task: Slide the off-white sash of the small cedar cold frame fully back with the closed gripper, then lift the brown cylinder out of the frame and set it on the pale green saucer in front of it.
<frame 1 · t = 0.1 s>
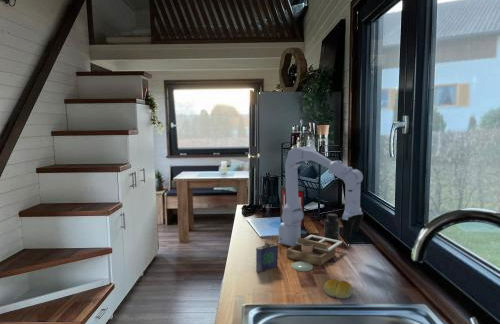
hand: (351, 233, 144), 10 cm above the kitchen counter, fingers open, 7 cm apart
sash: (319, 240, 151), point 5 cm above the kitchen counter, slide at 7.0 cm
brown cylinder: (306, 257, 145), resting on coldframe
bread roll: (338, 293, 117), on the kitchen counter
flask: (266, 269, 135), on the kitchen counter
saucer: (302, 267, 136), on the kitchen counter
supplement bottle: (331, 240, 167), on the kitchen counter
cleaning product box: (291, 225, 191), on the kitchen counter
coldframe: (311, 257, 146), on the kitchen counter
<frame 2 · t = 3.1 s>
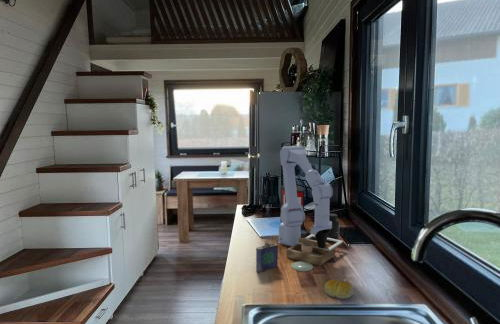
hand: (321, 247, 143), 5 cm above the kitchen counter, fingers closed
sash: (319, 239, 152), point 5 cm above the kitchen counter, slide at 7.7 cm, touching gripper
everything else where it was.
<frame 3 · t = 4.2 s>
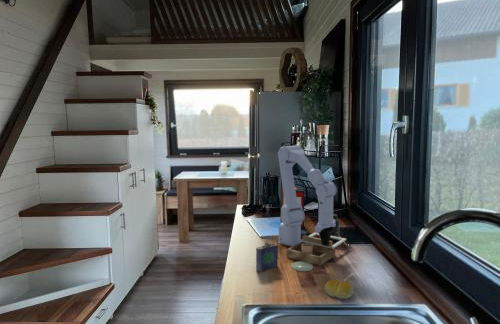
hand: (325, 245, 146), 5 cm above the kitchen counter, fingers closed
sash: (323, 237, 155), point 5 cm above the kitchen counter, slide at 11.1 cm, touching gripper
everything else where it was.
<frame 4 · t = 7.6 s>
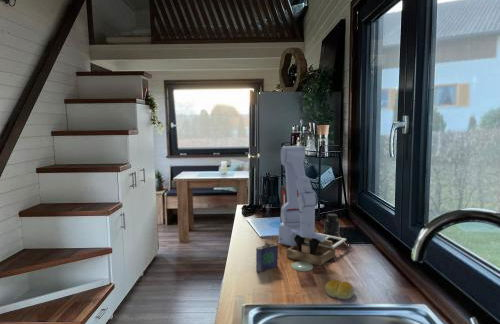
hand: (306, 255, 145), 1 cm above the kitchen counter, fingers closed on brown cylinder, 4 cm apart
sash: (323, 237, 155), point 5 cm above the kitchen counter, slide at 11.1 cm
brown cylinder: (306, 257, 145), resting on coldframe, touching gripper
everything else where it was.
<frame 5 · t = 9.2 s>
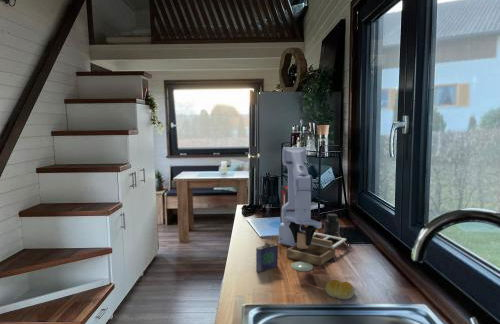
hand: (302, 243, 135), 9 cm above the kitchen counter, fingers closed on brown cylinder, 4 cm apart
brown cylinder: (302, 246, 135), point 8 cm above the kitchen counter, touching gripper
everything else where it was.
when the fingers open (3 cm above the kitchen counter, at t = 11.2 s): brown cylinder drops 1 cm, resting on saucer.
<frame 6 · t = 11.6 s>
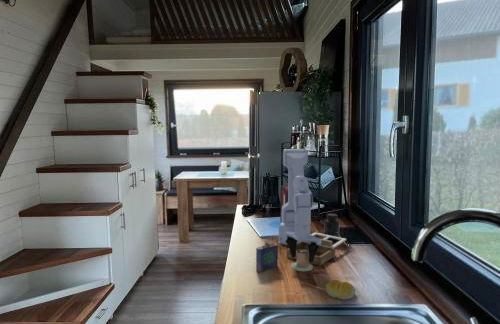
hand: (302, 259, 136), 3 cm above the kitchen counter, fingers open, 7 cm apart
brown cylinder: (302, 265, 136), point 1 cm above the kitchen counter, touching saucer
everything else where it was.
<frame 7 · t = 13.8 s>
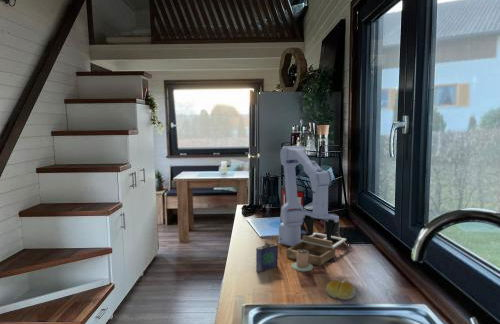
hand: (319, 237, 139), 10 cm above the kitchen counter, fingers open, 7 cm apart
at the end: brown cylinder 0.1 cm from the saucer (horizontally); brown cylinder tilted 0°; sash slide at 11.1 cm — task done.
